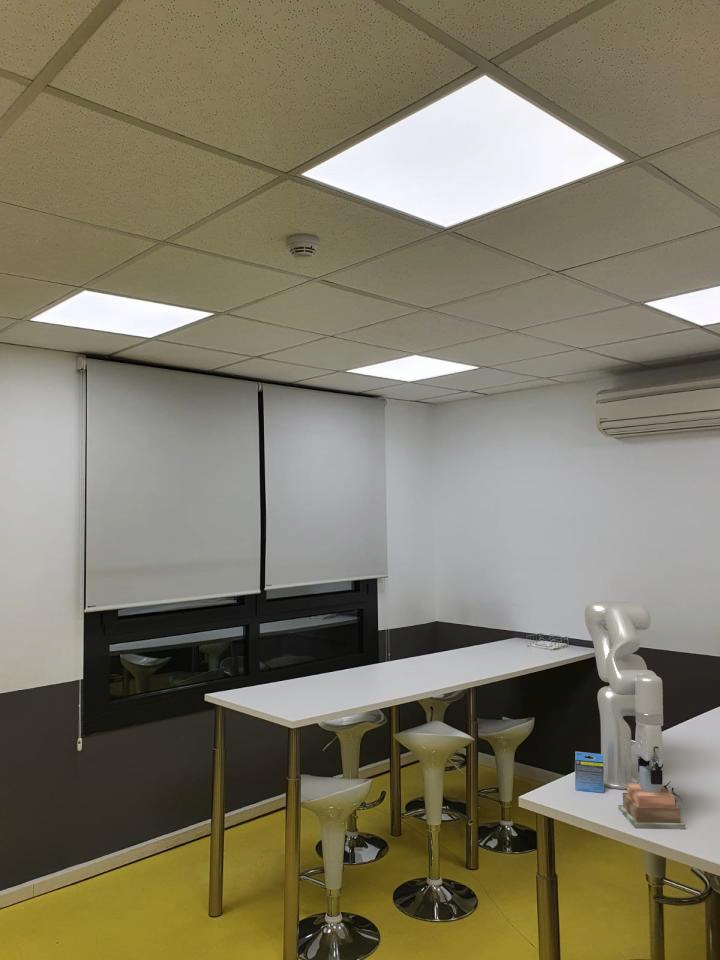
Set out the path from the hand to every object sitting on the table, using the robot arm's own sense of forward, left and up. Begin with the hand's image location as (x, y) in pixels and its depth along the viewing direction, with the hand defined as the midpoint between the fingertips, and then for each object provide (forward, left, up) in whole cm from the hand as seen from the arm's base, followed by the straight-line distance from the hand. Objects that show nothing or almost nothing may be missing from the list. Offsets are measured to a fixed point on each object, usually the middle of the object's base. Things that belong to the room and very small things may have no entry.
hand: (650, 778), depth 213 cm
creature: (-16, +11, -12) cm, 22 cm away
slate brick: (0, 0, -3) cm, 3 cm away
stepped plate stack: (0, 0, -12) cm, 12 cm away
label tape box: (-23, -11, -12) cm, 28 cm away
